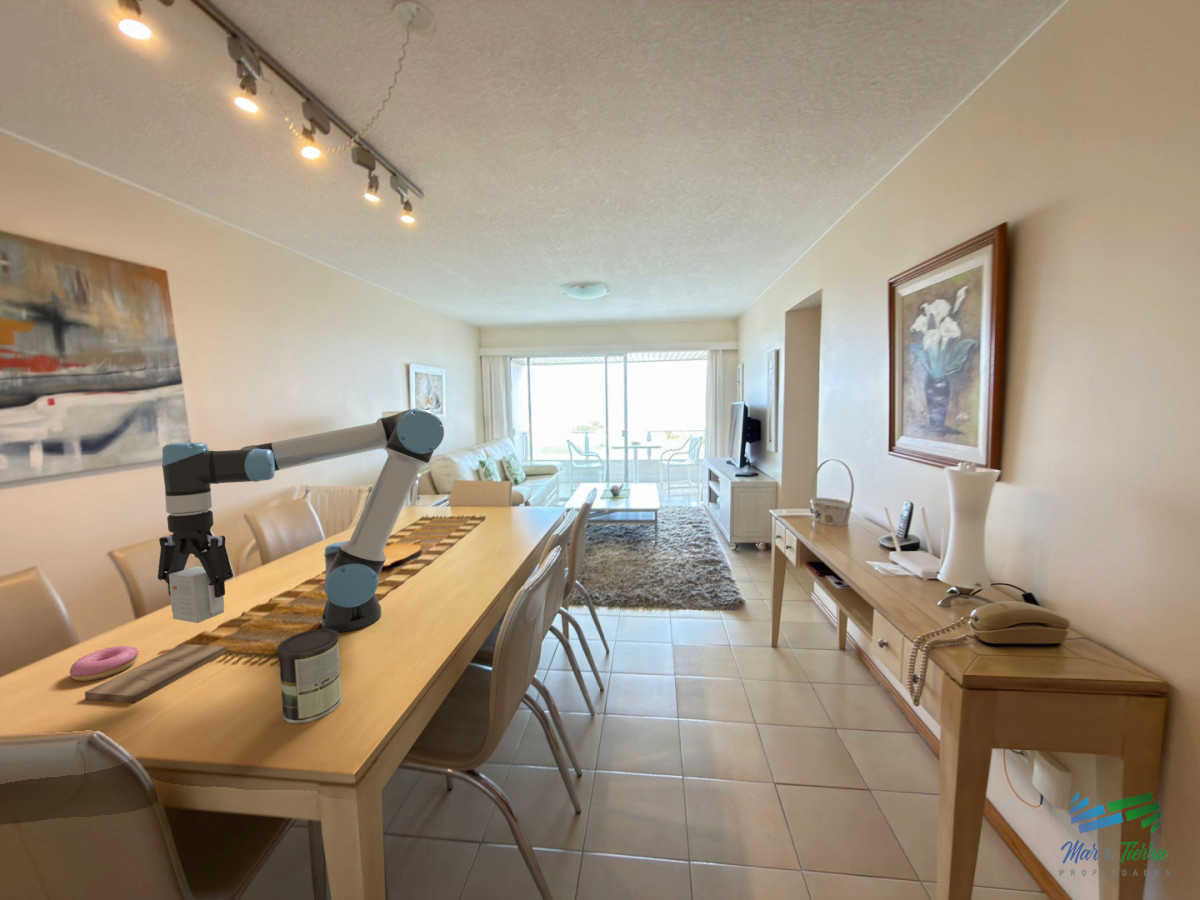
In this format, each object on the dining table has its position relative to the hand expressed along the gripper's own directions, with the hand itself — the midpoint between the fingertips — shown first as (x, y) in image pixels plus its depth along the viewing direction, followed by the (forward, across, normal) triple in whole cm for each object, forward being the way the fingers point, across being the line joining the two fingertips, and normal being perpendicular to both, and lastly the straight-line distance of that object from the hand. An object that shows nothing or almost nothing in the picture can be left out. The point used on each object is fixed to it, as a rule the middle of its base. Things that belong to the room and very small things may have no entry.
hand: (198, 609), depth 102 cm
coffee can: (+16, -34, +9) cm, 38 cm away
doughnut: (+16, +25, 0) cm, 30 cm away
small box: (+2, 0, 0) cm, 2 cm away
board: (+15, +10, 0) cm, 18 cm away
